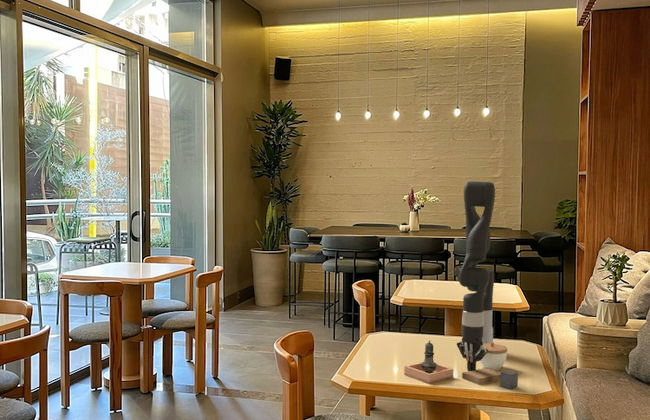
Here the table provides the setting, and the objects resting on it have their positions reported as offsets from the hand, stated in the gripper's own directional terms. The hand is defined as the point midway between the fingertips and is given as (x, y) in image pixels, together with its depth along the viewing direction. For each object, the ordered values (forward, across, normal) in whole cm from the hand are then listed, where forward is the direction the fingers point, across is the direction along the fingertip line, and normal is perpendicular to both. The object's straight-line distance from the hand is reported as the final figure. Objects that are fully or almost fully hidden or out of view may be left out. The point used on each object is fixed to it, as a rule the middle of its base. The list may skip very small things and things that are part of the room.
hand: (471, 371), depth 226 cm
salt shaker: (+1, +7, +14) cm, 16 cm away
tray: (+1, +7, +14) cm, 16 cm away
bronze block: (+2, -6, 0) cm, 6 cm away
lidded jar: (+1, +2, -13) cm, 13 cm away
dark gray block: (+1, -16, 0) cm, 16 cm away
